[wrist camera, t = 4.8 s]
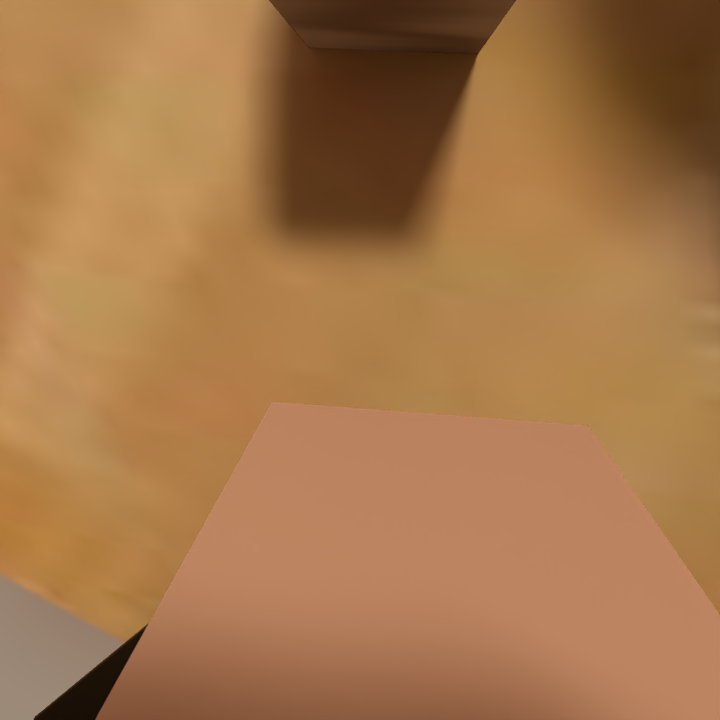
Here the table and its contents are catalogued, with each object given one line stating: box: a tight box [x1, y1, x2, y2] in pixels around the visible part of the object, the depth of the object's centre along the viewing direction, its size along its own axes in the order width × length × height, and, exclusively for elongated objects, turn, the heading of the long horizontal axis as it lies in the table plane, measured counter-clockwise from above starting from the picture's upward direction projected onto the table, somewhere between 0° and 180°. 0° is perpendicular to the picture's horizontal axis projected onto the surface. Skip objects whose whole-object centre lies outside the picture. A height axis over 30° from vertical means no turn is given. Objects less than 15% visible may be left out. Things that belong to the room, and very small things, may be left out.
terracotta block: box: [95, 402, 720, 720], centre depth 7 cm, size 5×5×6 cm
